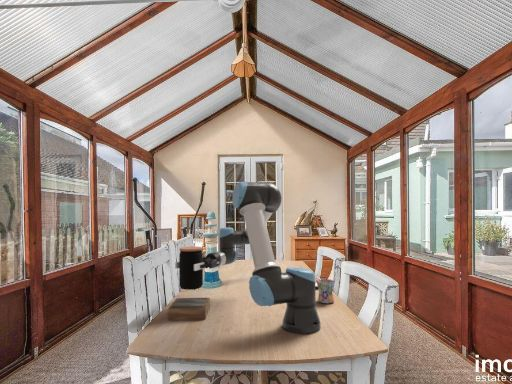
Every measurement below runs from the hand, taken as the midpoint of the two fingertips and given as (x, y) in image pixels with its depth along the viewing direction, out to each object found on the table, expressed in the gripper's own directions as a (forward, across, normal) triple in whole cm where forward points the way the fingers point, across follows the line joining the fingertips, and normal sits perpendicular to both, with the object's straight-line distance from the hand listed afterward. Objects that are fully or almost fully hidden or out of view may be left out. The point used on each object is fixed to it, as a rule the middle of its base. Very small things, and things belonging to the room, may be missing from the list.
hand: (184, 266), depth 148 cm
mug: (-52, -47, -22) cm, 74 cm away
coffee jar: (-4, 0, -10) cm, 11 cm away
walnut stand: (-3, 0, -22) cm, 22 cm away
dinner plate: (-79, -23, -22) cm, 85 cm away
